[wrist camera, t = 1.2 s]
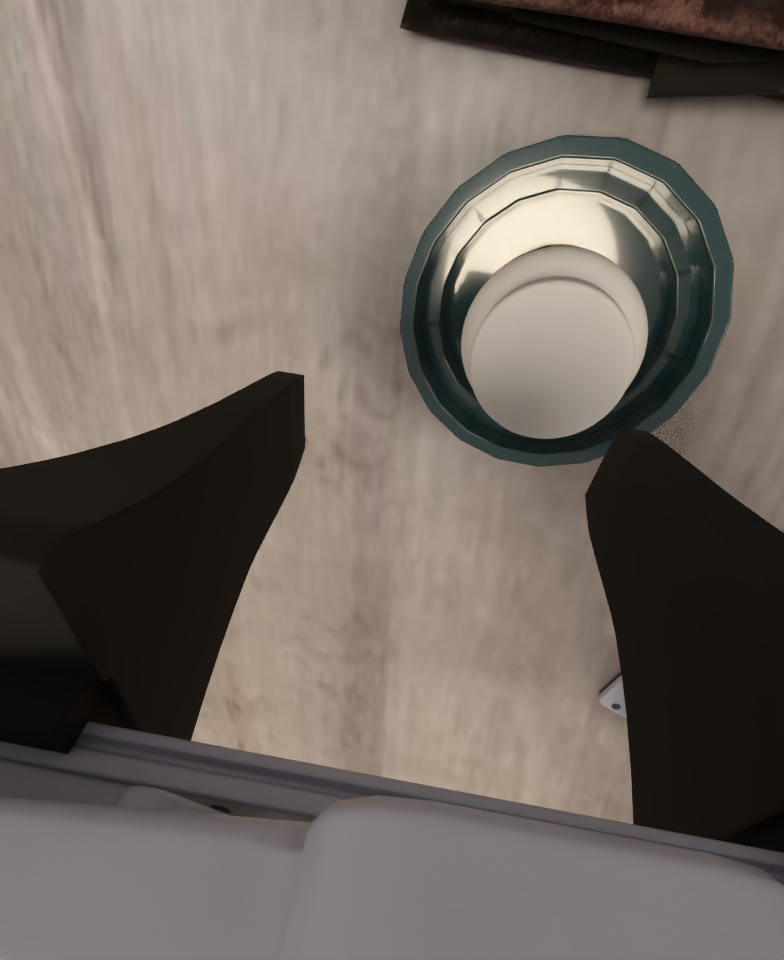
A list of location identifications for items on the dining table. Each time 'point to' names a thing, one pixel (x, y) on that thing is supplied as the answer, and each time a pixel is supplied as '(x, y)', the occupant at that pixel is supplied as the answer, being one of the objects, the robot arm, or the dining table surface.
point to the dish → (588, 224)
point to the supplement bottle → (554, 341)
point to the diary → (628, 38)
